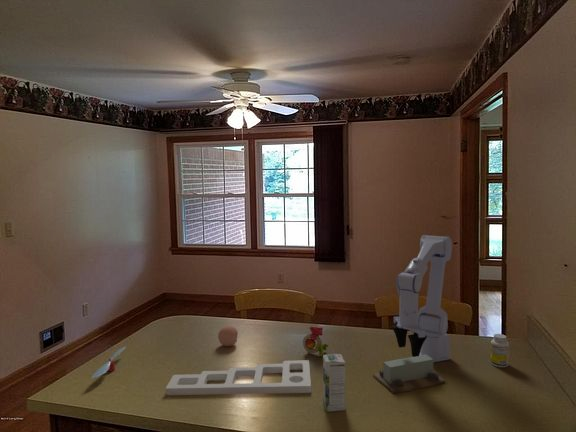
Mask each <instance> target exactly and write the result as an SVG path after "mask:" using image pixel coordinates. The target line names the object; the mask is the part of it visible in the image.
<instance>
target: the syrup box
mask: <svg viewBox="0 0 576 432" xmlns="http://www.w3.org/2000/svg"><path fill="white" fill-rule="evenodd" d="M322 362H323V363H322V402H323V406H324V410H325V412H328V413H329V412H341V411H346V361H345V359H344V357H343V355H342V354H339V353H329V354H323V355H322Z"/></svg>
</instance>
